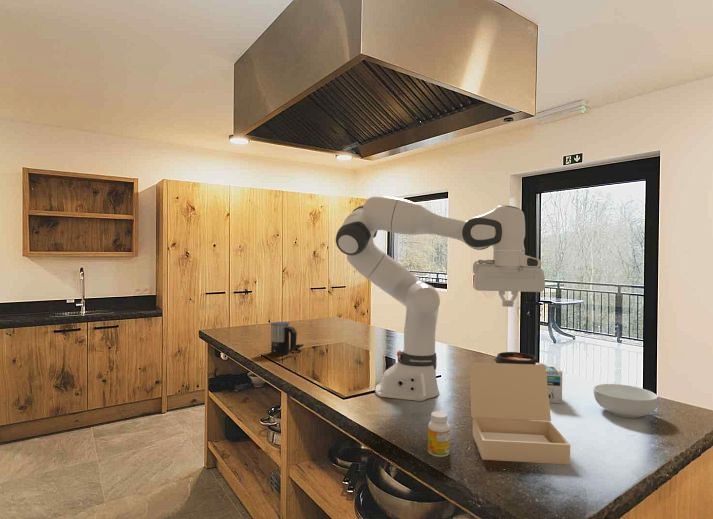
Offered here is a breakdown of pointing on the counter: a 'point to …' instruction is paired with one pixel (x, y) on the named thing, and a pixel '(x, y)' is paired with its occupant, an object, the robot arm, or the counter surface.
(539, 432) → the tray
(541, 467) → the counter surface
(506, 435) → the tissue paper
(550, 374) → the light bulb box
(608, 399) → the cereal bowl
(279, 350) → the milk frother
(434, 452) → the supplement bottle
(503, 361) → the casserole
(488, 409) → the mailer lid
